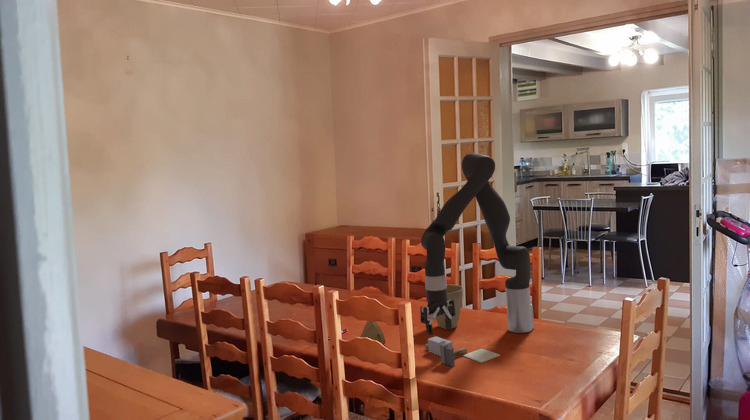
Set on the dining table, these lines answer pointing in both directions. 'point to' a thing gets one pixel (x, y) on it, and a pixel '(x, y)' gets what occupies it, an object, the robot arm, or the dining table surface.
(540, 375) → the dining table surface
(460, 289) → the plant pot
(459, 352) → the clamp rails
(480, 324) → the dining table surface
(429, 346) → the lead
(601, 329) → the dining table surface
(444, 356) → the grey stepped block
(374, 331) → the rock
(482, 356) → the mat
